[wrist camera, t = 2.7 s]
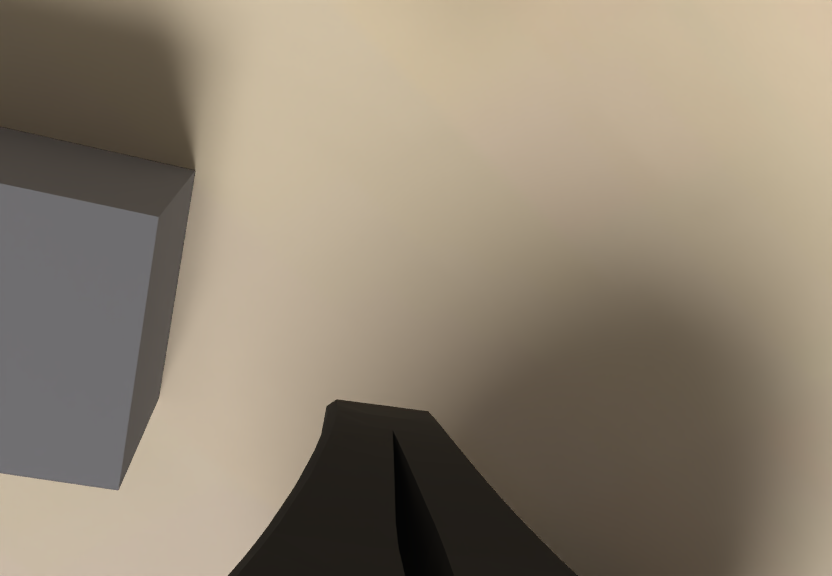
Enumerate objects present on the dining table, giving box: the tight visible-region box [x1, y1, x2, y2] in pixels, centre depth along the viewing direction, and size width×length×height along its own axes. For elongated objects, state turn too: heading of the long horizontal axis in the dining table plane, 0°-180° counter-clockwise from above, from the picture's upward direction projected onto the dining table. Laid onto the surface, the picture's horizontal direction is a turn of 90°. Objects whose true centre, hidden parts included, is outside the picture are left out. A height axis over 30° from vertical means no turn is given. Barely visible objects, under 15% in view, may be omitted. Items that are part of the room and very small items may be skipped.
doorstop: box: [0, 127, 195, 490], centre depth 16 cm, size 6×6×4 cm
